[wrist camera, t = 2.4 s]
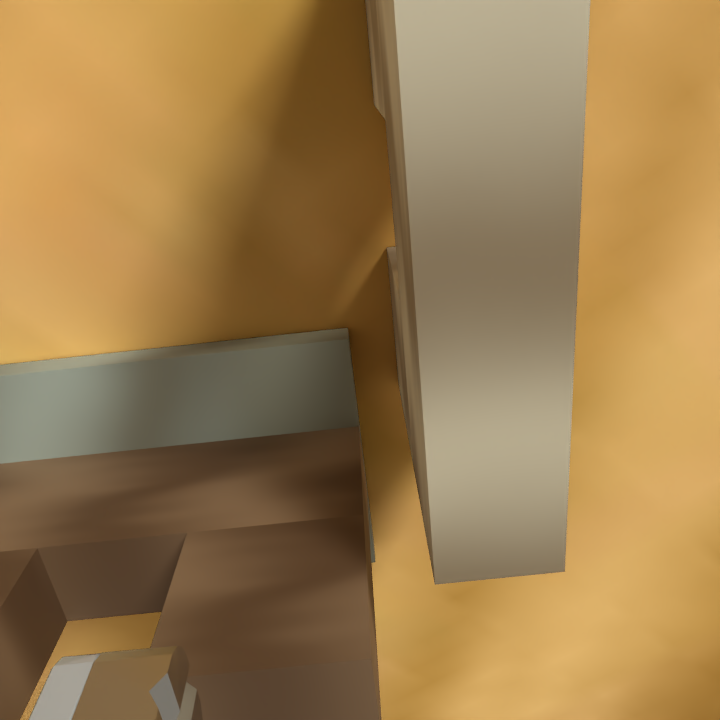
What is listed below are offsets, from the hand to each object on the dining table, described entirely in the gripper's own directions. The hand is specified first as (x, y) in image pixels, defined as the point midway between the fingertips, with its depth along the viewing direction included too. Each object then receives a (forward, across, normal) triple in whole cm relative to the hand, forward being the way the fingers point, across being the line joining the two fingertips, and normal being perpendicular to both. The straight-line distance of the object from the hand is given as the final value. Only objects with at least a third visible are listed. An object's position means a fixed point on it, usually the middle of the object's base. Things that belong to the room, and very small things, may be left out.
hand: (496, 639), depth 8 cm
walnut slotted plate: (+11, +8, +4) cm, 14 cm away
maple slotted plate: (+11, -1, -4) cm, 12 cm away
